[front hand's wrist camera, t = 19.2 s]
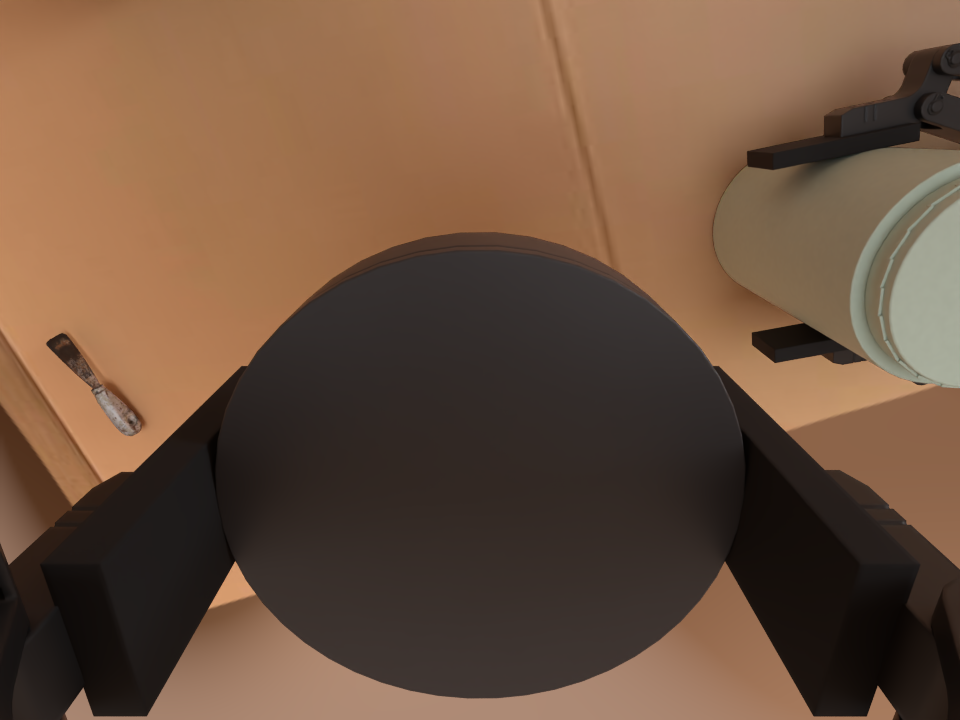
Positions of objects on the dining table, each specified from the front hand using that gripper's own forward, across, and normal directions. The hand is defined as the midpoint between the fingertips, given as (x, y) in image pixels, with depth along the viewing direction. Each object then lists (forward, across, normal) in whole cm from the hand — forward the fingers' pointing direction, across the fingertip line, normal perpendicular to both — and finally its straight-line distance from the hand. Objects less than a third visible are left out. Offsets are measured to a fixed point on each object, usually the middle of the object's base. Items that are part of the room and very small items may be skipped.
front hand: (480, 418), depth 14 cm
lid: (-3, 0, 0) cm, 3 cm away
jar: (+24, +19, +1) cm, 30 cm away
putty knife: (+24, -26, -9) cm, 36 cm away
